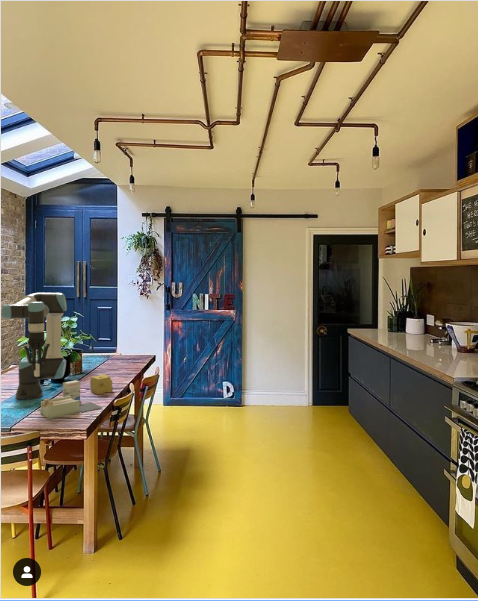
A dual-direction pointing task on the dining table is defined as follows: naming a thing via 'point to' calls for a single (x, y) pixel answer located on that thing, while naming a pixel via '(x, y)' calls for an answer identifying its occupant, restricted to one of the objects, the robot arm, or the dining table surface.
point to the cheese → (101, 384)
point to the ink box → (72, 389)
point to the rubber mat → (88, 407)
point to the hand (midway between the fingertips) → (36, 376)
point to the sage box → (60, 408)
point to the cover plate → (55, 402)
